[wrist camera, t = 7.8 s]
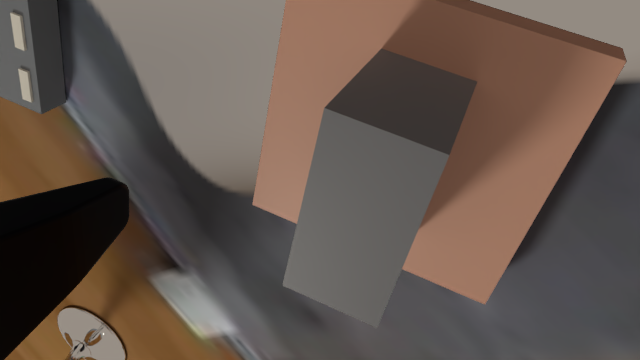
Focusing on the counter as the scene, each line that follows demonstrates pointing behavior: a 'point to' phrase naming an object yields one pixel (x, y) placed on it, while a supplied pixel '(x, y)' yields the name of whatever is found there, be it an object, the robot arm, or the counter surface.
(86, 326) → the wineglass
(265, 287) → the counter surface
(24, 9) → the panel
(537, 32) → the stub
